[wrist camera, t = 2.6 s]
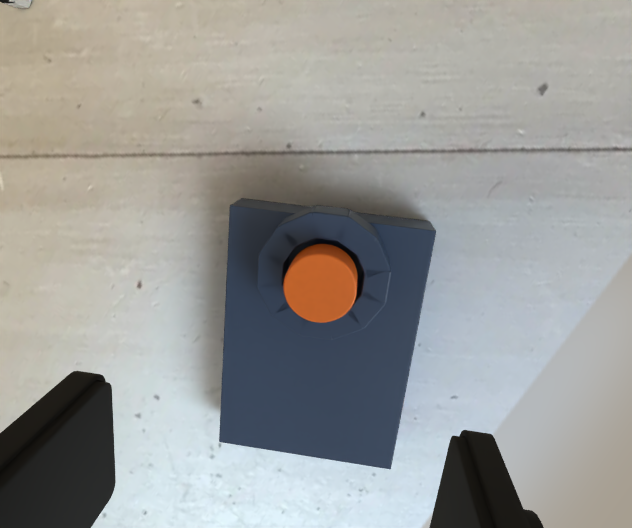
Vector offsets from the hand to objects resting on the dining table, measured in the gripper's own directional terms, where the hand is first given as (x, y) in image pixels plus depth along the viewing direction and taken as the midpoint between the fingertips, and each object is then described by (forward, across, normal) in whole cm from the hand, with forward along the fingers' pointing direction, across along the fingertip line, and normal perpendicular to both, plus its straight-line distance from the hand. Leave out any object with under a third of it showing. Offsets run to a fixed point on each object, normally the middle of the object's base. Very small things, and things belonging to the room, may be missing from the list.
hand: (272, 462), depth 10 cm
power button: (+12, 0, 0) cm, 12 cm away
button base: (+16, 0, +4) cm, 17 cm away
